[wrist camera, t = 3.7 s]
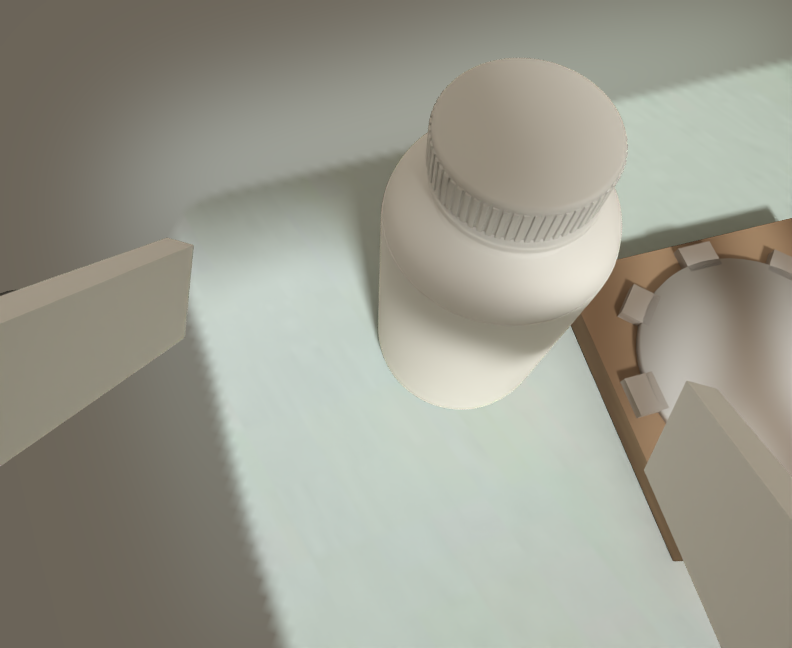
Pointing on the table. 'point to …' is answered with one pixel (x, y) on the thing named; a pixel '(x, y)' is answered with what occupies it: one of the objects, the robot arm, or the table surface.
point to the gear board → (695, 339)
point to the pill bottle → (497, 229)
